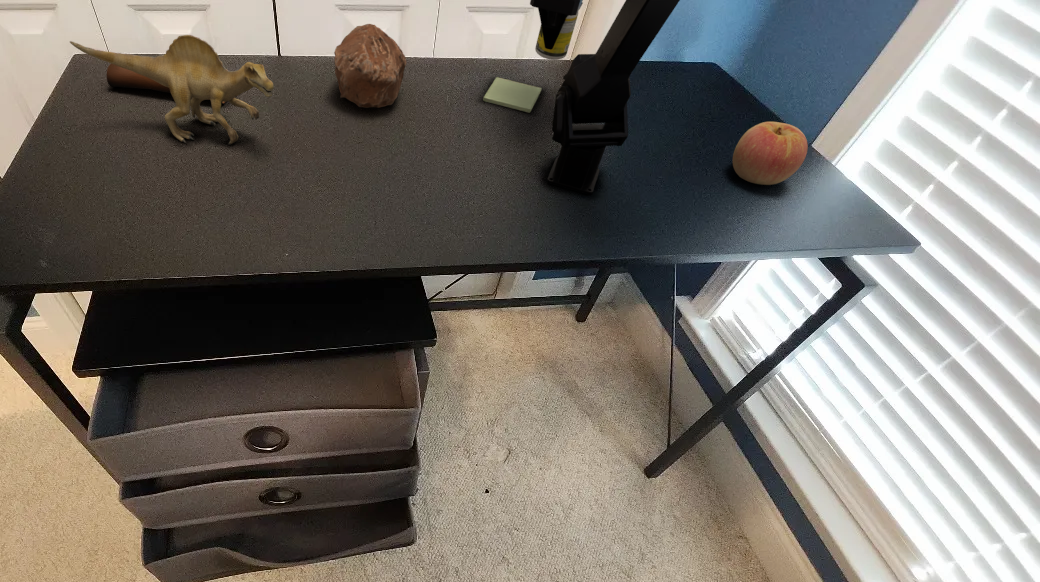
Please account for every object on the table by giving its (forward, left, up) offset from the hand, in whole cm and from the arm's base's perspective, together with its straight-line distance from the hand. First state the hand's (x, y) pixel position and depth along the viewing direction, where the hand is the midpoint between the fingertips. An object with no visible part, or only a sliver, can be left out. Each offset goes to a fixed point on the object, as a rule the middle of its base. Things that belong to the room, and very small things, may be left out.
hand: (552, 41), depth 88 cm
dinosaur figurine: (-29, +44, -11) cm, 54 cm away
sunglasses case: (-20, +54, -11) cm, 58 cm away
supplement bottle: (0, 0, -2) cm, 2 cm away
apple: (-2, -34, -12) cm, 36 cm away
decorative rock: (-8, +26, -12) cm, 29 cm away
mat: (+4, +5, -11) cm, 13 cm away
